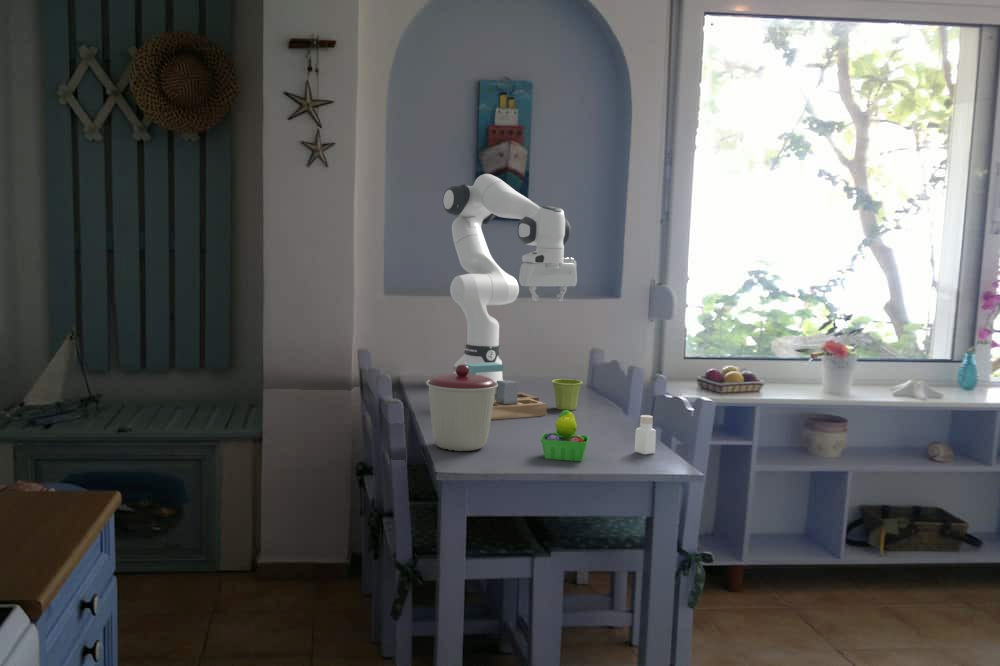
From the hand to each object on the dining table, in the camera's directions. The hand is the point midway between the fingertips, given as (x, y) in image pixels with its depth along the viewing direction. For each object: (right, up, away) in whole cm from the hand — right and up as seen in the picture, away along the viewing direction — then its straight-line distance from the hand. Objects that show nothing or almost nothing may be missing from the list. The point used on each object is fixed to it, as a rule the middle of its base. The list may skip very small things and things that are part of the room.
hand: (547, 300), depth 314 cm
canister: (-25, -40, -66) cm, 81 cm away
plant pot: (+5, -34, -8) cm, 36 cm away
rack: (-13, -35, -22) cm, 43 cm away
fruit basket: (+1, -41, -72) cm, 83 cm away
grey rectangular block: (-13, -35, -22) cm, 43 cm away
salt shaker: (+22, -41, -65) cm, 80 cm away
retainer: (-22, -32, -13) cm, 41 cm away
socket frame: (-17, -33, -10) cm, 39 cm away
